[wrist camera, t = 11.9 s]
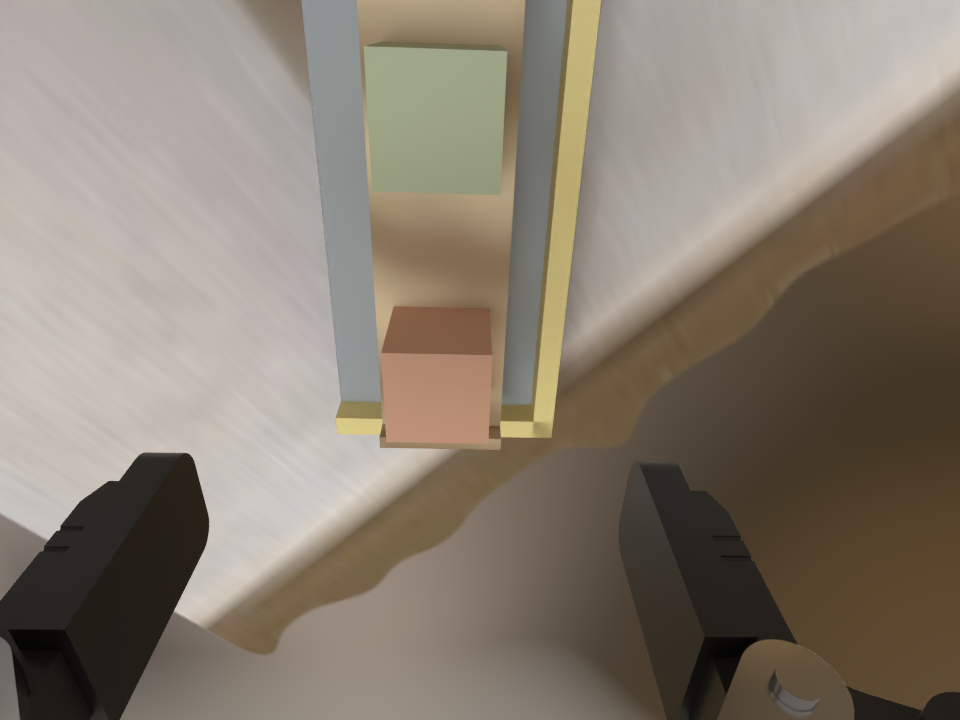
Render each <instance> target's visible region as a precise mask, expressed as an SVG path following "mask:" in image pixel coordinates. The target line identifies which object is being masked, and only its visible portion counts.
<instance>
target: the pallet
mask: <svg viewBox="0 0 960 720" xmlns="http://www.w3.org/2000/svg"><path fill="white" fill-rule="evenodd" d="M357 12H358V29H359V45H360V62H361V78H362V95H363V111H364V128H365V144H366V161H367V178H368V194H369V211H370V227H371V244H372V260H373V277H374V293H375V310H376V326H377V343H378V359H379V376H380V392H381V409H382V428H381V433H380V448H433V449H492V450H500V448H501V432H500V419H501V402H502V386H503V369H504V352H505V335H506V319H507V302H508V285H509V268H510V251H511V235H512V218H513V201H514V184H515V167H516V151H517V134H518V117H519V100H520V84H521V67H522V50H523V33H524V16H525V0H357ZM382 41H385V42H414V43H442V44H471V45H500V46H502V47H503V48H504V49H505V50H507V70H506V90H505V111H504V132H503V153H502V174H501V194H500V195H483V194H448V193H412V192H376V191H372V182H371V165H370V147H369V130H368V113H367V96H366V78H365V61H364V46H366V45H370V44H374V43H378V42H382ZM393 306H400V307H446V308H489V310H490V326H491V342H492V374H491V396H490V417H489V439H488V444H470V443H407V442H386V428H385V412H384V395H383V378H382V361H381V351H382V347H383V344H384V340H385V336H386V333H387V329H388V325H389V321H390V318H391V314H392V310H393Z"/></svg>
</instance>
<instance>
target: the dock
mask: <svg viewBox="0 0 960 720" xmlns="http://www.w3.org/2000/svg"><path fill="white" fill-rule="evenodd" d="M301 1H302V11H303V21H304V31H305V41H306V51H307V61H308V72H309V82H310V92H311V102H312V112H313V122H314V132H315V142H316V152H317V162H318V172H319V182H320V193H321V203H322V213H323V223H324V233H325V243H326V253H327V263H328V273H329V283H330V293H331V303H332V313H333V324H334V334H335V344H336V354H337V364H338V374H339V384H340V394H341V404H340V407H339V410H338V413H337V415H336V426H337V434H361V435H380V433H381V428H382V409H381V392H380V376H379V359H378V343H377V326H376V310H375V293H374V277H373V260H372V244H371V227H370V211H369V194H368V178H367V161H366V144H365V128H364V111H363V95H362V78H361V62H360V45H359V29H358V12H357V0H301ZM600 6H601V0H525V16H524V33H523V50H522V67H521V84H520V100H519V117H518V134H517V151H516V167H515V184H514V201H513V218H512V235H511V251H510V268H509V285H508V302H507V319H506V335H505V352H504V369H503V386H502V402H501V419H500V432H501V437H526V438H551V435H552V427H553V418H554V409H555V400H556V391H557V383H558V374H559V365H560V356H561V348H562V339H563V330H564V321H565V313H566V304H567V295H568V286H569V278H570V269H571V260H572V251H573V243H574V234H575V225H576V216H577V208H578V199H579V190H580V181H581V173H582V164H583V155H584V146H585V138H586V129H587V120H588V111H589V103H590V94H591V85H592V76H593V68H594V59H595V50H596V41H597V33H598V24H599V15H600Z"/></svg>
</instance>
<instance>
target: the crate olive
mask: <svg viewBox="0 0 960 720" xmlns="http://www.w3.org/2000/svg"><path fill="white" fill-rule="evenodd" d="M364 61H365V78H366V96H367V113H368V130H369V147H370V165H371V182H372V191H376V192H412V193H448V194H483V195H500V194H501V174H502V153H503V132H504V111H505V90H506V70H507V50H505V49H504V48H503V47H502V46H500V45H471V44H442V43H414V42H385V41H382V42H378V43H374V44H370V45H366V46H364Z"/></svg>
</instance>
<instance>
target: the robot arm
mask: <svg viewBox="0 0 960 720" xmlns="http://www.w3.org/2000/svg"><path fill="white" fill-rule="evenodd" d="M208 532H209V517H208V512H207V508H206V504H205V501H204V497H203V493H202V489H201V485H200V482H199V478H198V474H197V470H196V466H195V463H194V460H193V458H192V457H191V455H189V454H187V453H142V454H140V455H139V456H138V457H137V458H136V459H135V461H134V462H133V463H132V465H131V466H130V467H129V469H128V470H127V471H126V473H125V474H124V475H123V477H122V478H121V479H120V481H108V482H107V483H105V484H104V485H103V486H101V487H100V488H98V489H97V490H96V491H94V492H93V493H91V494H90V495H89V496H87V497H86V498H84V499H83V500H82V501H80V502H79V504H78V505H77V506H76V507H75V509H74V510H73V511H72V512H71V514H70V515H69V516H68V517H67V519H66V520H65V521H64V522H63V524H62V525H61V529H60V531H56V532H55V533H54V535H53V536H52V537H51V538H50V540H49V541H48V542H47V543H46V545H45V546H44V551H43V552H39V553H38V555H37V556H36V557H35V558H34V560H33V561H32V562H31V564H30V565H29V566H28V567H27V568H26V570H25V571H24V572H23V573H22V575H21V576H20V577H19V578H18V580H17V581H16V582H15V583H14V585H13V586H12V587H11V588H10V590H9V591H8V592H7V593H6V595H5V596H4V597H3V598H2V600H1V601H0V720H120V718H121V716H122V714H123V712H124V710H125V708H126V706H127V704H128V702H129V700H130V698H131V696H132V694H133V692H134V690H135V688H136V686H137V684H138V682H139V679H140V678H141V676H142V674H143V671H144V670H145V667H146V666H147V663H148V662H149V660H150V658H151V656H152V654H153V652H154V649H155V648H156V646H157V644H158V641H159V639H160V637H161V635H162V633H163V631H164V629H165V627H166V625H167V623H168V621H169V619H170V617H171V615H172V613H173V611H174V609H175V607H176V605H177V603H178V601H179V599H180V597H181V595H182V593H183V591H184V589H185V587H186V585H187V583H188V581H189V579H190V577H191V575H192V573H193V571H194V569H195V567H196V565H197V563H198V561H199V559H200V557H201V555H202V553H203V551H204V549H205V546H206V542H207V538H208ZM740 537H741V536H740V534H739V532H738V530H737V528H736V526H735V524H734V522H733V520H732V519H731V516H730V515H729V513H728V511H727V510H726V509H725V508H723V507H722V506H721V505H720V504H719V503H718V502H717V501H716V500H715V499H714V498H713V497H712V496H711V495H709V493H708V492H706V491H690V489H689V487H688V484H687V482H686V480H685V478H684V476H683V474H682V472H681V469H680V468H679V466H678V465H677V464H676V463H675V462H634V463H633V464H632V465H631V468H630V472H629V477H628V482H627V487H626V492H625V497H624V502H623V507H622V512H621V516H620V522H619V546H620V553H621V557H622V561H623V565H624V568H625V572H626V576H627V579H628V583H629V586H630V590H631V594H632V597H633V600H634V604H635V608H636V611H637V615H638V619H639V622H640V626H641V629H642V633H643V636H644V640H645V644H646V647H647V651H648V654H649V658H650V661H651V665H652V668H653V672H654V676H655V679H656V683H657V686H658V690H659V693H660V697H661V701H662V704H663V707H664V711H665V715H666V718H667V720H960V693H958V692H945V693H941V694H938V695H936V696H934V697H932V698H931V699H930V700H929V701H928V703H927V704H926V706H925V707H924V708H923V710H922V711H921V710H918V709H915V708H911V707H908V706H905V705H902V704H898V703H895V702H892V701H888V700H885V699H882V698H879V697H875V696H872V695H869V694H866V693H863V692H860V691H857V690H854V689H852V688H850V687H847V686H846V685H845V683H844V682H843V680H842V679H841V678H840V676H839V675H838V674H837V673H836V672H835V671H834V669H833V668H832V667H831V666H829V665H828V664H827V663H826V662H825V661H824V660H823V659H821V658H820V657H819V656H817V655H816V654H814V653H813V652H811V651H809V650H808V649H806V648H803V647H801V646H799V645H798V644H797V642H796V641H795V639H794V637H793V635H792V634H791V632H790V630H789V628H788V626H787V624H786V622H785V620H784V618H783V616H782V614H781V612H780V611H779V608H778V607H777V605H776V603H775V601H774V599H773V597H772V595H771V593H770V591H769V589H768V587H767V586H766V584H765V582H764V580H763V578H762V576H761V574H760V572H759V570H758V568H757V566H756V564H755V562H754V561H751V555H750V553H749V551H748V549H747V547H746V545H745V543H744V541H741V538H740Z"/></svg>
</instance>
